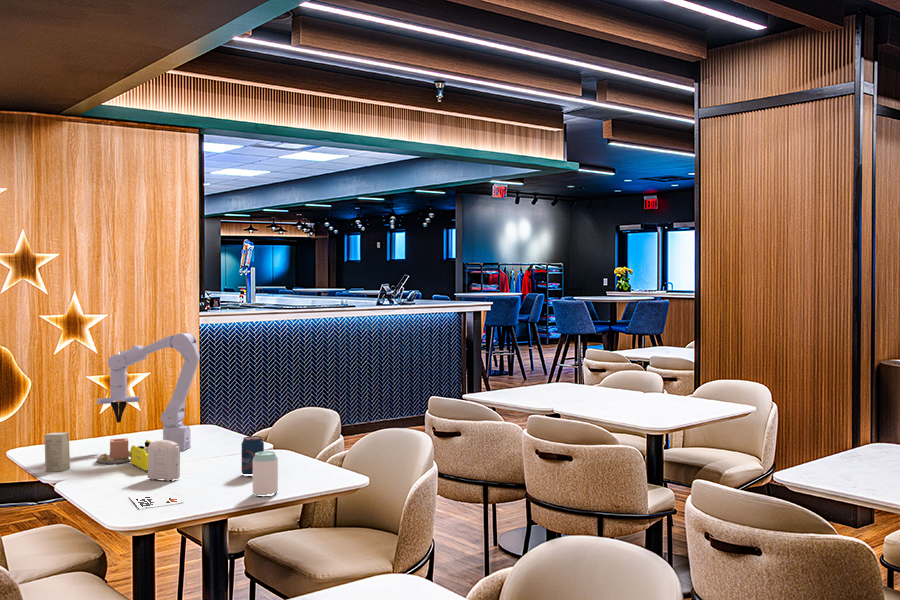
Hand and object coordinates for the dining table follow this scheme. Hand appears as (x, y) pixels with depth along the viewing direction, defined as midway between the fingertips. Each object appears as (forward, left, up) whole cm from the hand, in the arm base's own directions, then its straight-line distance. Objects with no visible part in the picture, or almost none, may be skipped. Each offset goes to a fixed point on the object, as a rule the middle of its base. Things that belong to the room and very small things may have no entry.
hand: (118, 422), depth 282 cm
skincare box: (+4, +34, -11) cm, 36 cm away
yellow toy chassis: (-24, +29, -11) cm, 39 cm away
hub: (-9, +18, -10) cm, 23 cm away
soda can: (-63, +39, -11) cm, 75 cm away
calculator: (-45, +70, -11) cm, 84 cm away
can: (-74, +63, -11) cm, 98 cm away
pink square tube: (-9, +18, -9) cm, 22 cm away
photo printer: (-37, +46, -11) cm, 60 cm away
